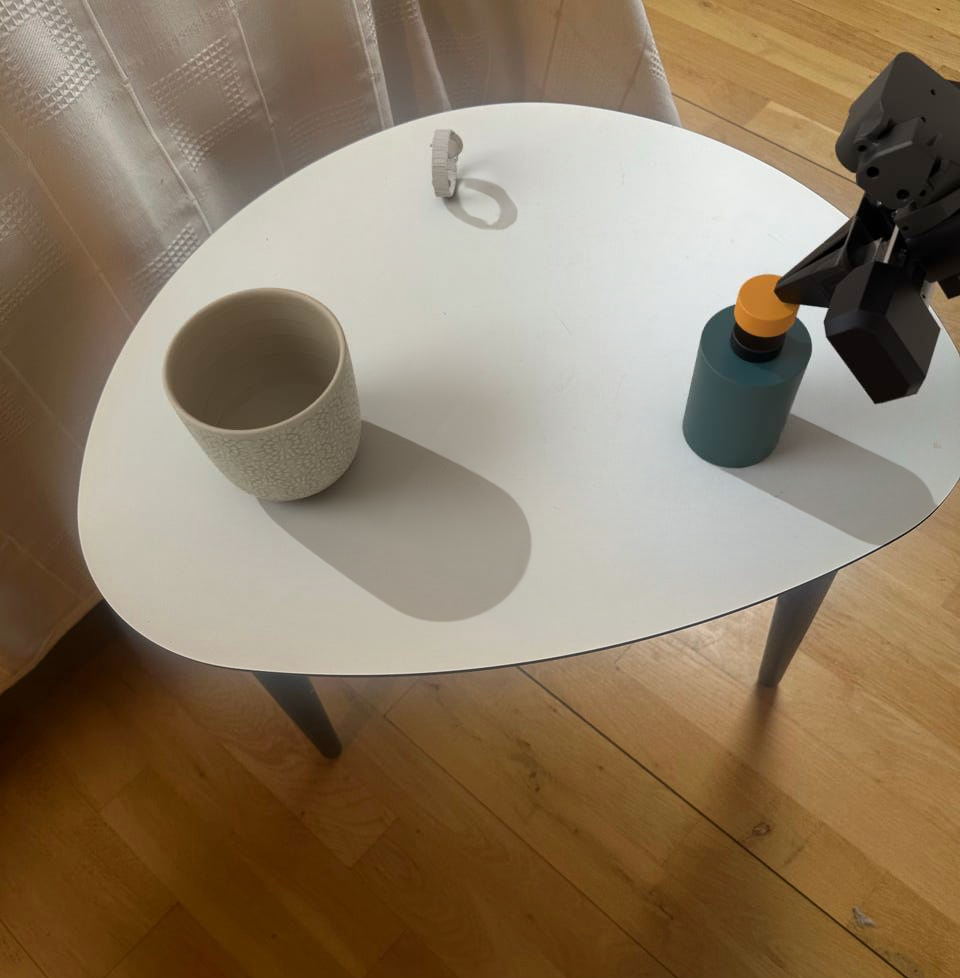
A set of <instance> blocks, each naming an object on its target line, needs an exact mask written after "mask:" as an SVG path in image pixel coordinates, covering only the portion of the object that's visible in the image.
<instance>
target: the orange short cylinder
mask: <svg viewBox="0 0 960 978" xmlns="http://www.w3.org/2000/svg"><path fill="white" fill-rule="evenodd" d="M782 276H783V275H778V274H773V273H772V274H771V273H767V274H766V273H764V274H757V275H755V276H752V277H751V278H749V279H747V280H746V281H745V282H744V283H743V284H742V285H741V286H740V288H739V291H738V292H737V293H738V294H737V297H736V302H735V304H736V305H735V304H734V305H735V309H734V316H735V319H736V321H737V323H738V325H739V326H740V327H741V328H742V329H743V330H745V331H746V332H748V333H750V334H752V335H755V336H760V337H774V336H778V335H780V334H783V333H784V332H786V331H787V330H789V329H790V328H791V327H792V325H793V324H794V322H795V319H796V317H797V316H798V313H799V310H800V307H801V305H798V304H790V303H783V302H781V301H780V300H779V298H778V297H777V296H776V294H775V293H774V289H775V286H776V284H777V281H778V280H779V279H780V278H781V277H782Z"/></svg>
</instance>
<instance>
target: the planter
mask: <svg viewBox="0 0 960 978" xmlns="http://www.w3.org/2000/svg"><path fill="white" fill-rule="evenodd" d="M353 365H354V364H353V360H352V357H351V351H350V348H349V344H348V342H347V337H346V335H345V332H344V329H343V326H342V325H341V323H340V321H339V319H338V318H337V316H336V315H335V314H334V313H333V311H331V309H329V308H328V307H327V306H326V305H325V304H324V303H323V302H321V301H320V300H317V299H316V298H314V297H312V296H311V295H309V294H307V293H303V292H301V291H297V290H293V289H289V288H283V287H257V288H249V289H244V290H240V291H236V292H233V293H230V294H227V295H225V296H222V297H220V298H217V299H216V300H214V301H212V302H210V303H208V304H207V305H205V306H203V307H202V308H200V309H199V310H197V311H195V313H193V315H191V316H190V317H189V318H188V319H186V321H185V322H184V323H183V324H182V325H181V326H180V327H179V328H178V330H177V331H176V332H175V334H174V335H173V337H172V339H171V341H170V342H169V344H168V345H167V349H166V351H165V354H164V357H163V361H162V368H161V369H162V370H161V371H162V372H161V378H162V379H161V380H162V385H163V389H164V393H165V395H166V397H167V399H168V401H169V403H170V405H171V406H172V409H173V410H174V412H175V414H176V415H177V417H178V418H179V419H180V421H181V423H182V424H183V425H184V427H185V429H186V430H187V431H188V433H189V434H190V436H191V437H192V438H193V440H195V442H196V443H197V445H198V446H199V447H200V448H201V450H202V451H203V452H204V454H205V455H206V457H207V458H208V459H209V460H210V462H211V463H212V464H213V465H214V466H215V468H216V469H217V470H218V471H219V472H220V473H221V474H222V476H224V477H225V478H226V480H228V481H229V482H230V484H232V485H233V486H235V487H236V488H238V489H240V490H241V491H243V492H245V493H246V494H248V495H250V496H254V497H256V498H259V499H263V500H269V501H276V502H277V501H278V502H285V501H286V502H287V501H295V500H296V501H297V500H301V499H305V498H307V497H311V496H313V495H316V494H318V493H320V492H322V491H324V490H325V489H327V488H329V487H330V486H331V485H333V484H334V483H335V482H336V481H337V480H339V479H340V478H341V477H342V476H343V474H344V473H345V472H346V471H347V470H348V468H349V467H350V465H351V464H352V462H353V460H354V458H355V456H356V454H357V452H358V449H359V445H360V440H361V435H362V418H361V406H360V400H359V393H358V387H357V382H356V381H357V380H356V375H355V371H354V366H353Z"/></svg>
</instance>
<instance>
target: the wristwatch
mask: <svg viewBox="0 0 960 978" xmlns="http://www.w3.org/2000/svg"><path fill="white" fill-rule="evenodd" d="M433 133H434V134H433V137H432V140H431V143H430V144H429V147H430V148H432V149H431V178H432V180H431V185H432V187H433V191H434V195H435V197H436V198H438V197H439V198H452V197H453V195H454V194H455V190H456V184H457V170H458V169H457V167H458V165H457V163H458V162H459V155H460V154H461V153H462V152H463V149H464V143H463V142H464V141H463V139H462V138H461V136H460V135H459V134H457V133H456V131H454V130H453V129H450V128H448V129H447V128H436V129H435V130H434V132H433Z"/></svg>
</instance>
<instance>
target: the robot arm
mask: <svg viewBox="0 0 960 978" xmlns="http://www.w3.org/2000/svg"><path fill="white" fill-rule="evenodd" d="M834 152H835V156H836V158H837V160H838V162H839V163H840V164H841V165H842V167H844V168H845V170H847V171H848V172H850V173H851V174H855V184H856V186H857V187H858V188H860V189H861V190H863V191H864V192H863V194H862V197H861V200H860V202H859V205H858V208H857V210H856V212H855V213H854V214H853V216H851V217H850V218H849V219H848V220H847V221H845V223H844V224H843V225H842V226H841V227H839V228H838V229H837V230H836V231H835V232H834V233H833V234H831V235H830V236H829V237H828V238H826V239H825V240H824V241H823V242H822V243H821V244H819V245H818V246H817V247H816V248H814V249H813V250H812V251H811V252H810V253H808V254H807V255H806V256H805V257H804V258H803V259H801V260H800V261H799V262H798V263H797V264H795V265H794V266H793V267H792V268H790V270H788V271H787V272H786V273H785V274H783V275H781V276H782V277H781V278H780V279H779V280H778V281H777V284H776V286H775V289H774V293H775V294H776V296H777V297H778V298H779V300H780V301H781V302H783V303H790V304H798V305H800V306H807V307H814V308H821V309H827V310H826V314H825V316H824V319H823V329H824V333H825V338H826V339H827V341H828V342H829V343H830V345H831V346H832V348H833V349H834V350H835V352H836V353H837V355H838V356H839V358H841V360H842V361H843V363H844V365H846V367H847V368H848V370H849V371H850V373H851V374H852V375H853V376H854V378H855V379H856V381H857V382H858V383H859V385H860V386H861V387H862V389H863V390H864V392H865V393H866V394H867V396H868V397H869V399H870V400H871V401H872V402H873V404H874V405H880V404H884V403H888V402H892V401H897V400H900V399H904V398H907V397H910V396H911V397H912V396H914V395H915V396H916V395H917V394H918V393H919V390H920V389H921V387H922V386H923V384H924V382H925V380H926V378H927V376H928V372H929V369H930V367H931V366H930V365H931V363H932V359H933V356H934V353H935V349H936V346H937V343H938V339H939V336H940V333H941V330H942V328H941V326H940V325H939V323H938V321H937V320H936V319H935V317H934V316H933V314H932V313H931V311H930V309H929V308H930V305H931V303H932V298H933V295H934V292H935V288H936V283H937V284H938V286H939V287H940V289H941V291H942V292H943V294H944V295H945V297H946V298H947V300H951V299H954V298H957V297H960V81H957V80H953V79H947V78H945V76H942V75H941V74H940V73H939V72H937V71H936V70H935V69H934V68H932V67H931V66H930V65H928V64H927V63H926V62H924V60H922V59H921V58H920V57H918V56H917V55H915V53H911V52H908V51H900V52H899V53H897V55H896V56H895V57H893V58H892V60H891V61H890V62H889V63H888V65H886V67H884V69H883V70H882V71H881V72H880V73H879V74H878V75H877V76H876V77H875V79H873V80H872V82H871V83H870V84H869V85H868V86H867V87H866V88H865V89H864V90H863V92H862V93H861V94H860V95H859V96H857V98H856V99H855V100H854V101H853V102H852V104H851V105H850V107H849V109H848V115H847V118H846V120H845V123H844V125H843V129H842V130H841V133H840V134H839V136H838V137H837V139H836V142H835V145H834Z"/></svg>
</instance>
